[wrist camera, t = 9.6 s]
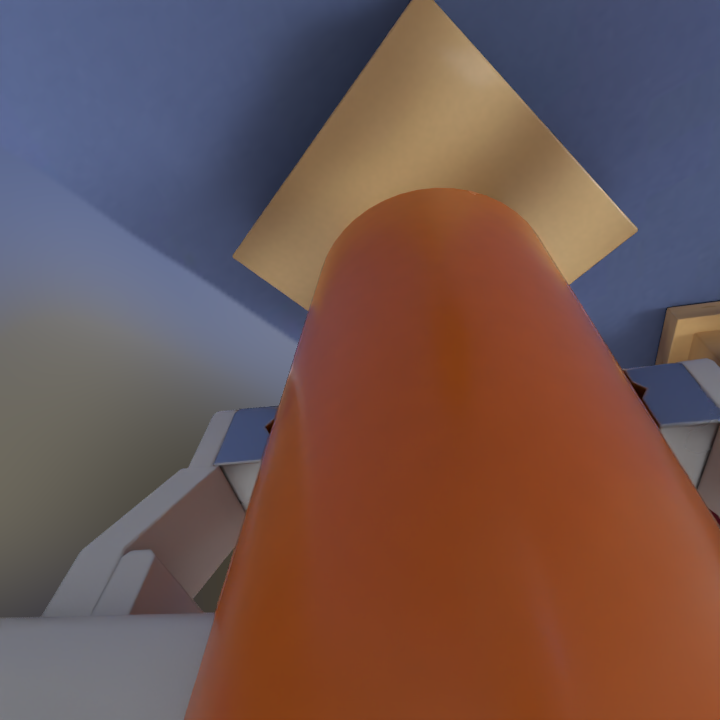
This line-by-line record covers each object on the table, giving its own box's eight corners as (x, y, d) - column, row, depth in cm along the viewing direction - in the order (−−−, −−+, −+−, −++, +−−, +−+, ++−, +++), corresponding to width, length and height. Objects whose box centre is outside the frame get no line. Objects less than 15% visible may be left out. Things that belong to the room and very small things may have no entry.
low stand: (252, 227, 19) (231, 257, 17) (417, -10, 14) (420, -14, 12) (424, 355, 23) (427, 396, 20) (607, 201, 18) (639, 230, 15)
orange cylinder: (289, 212, 12) (-156, 1008, 2) (557, 163, 11) (1793, 1324, 1) (345, 401, 16) (258, 1001, 6) (548, 379, 15) (830, 1076, 5)
